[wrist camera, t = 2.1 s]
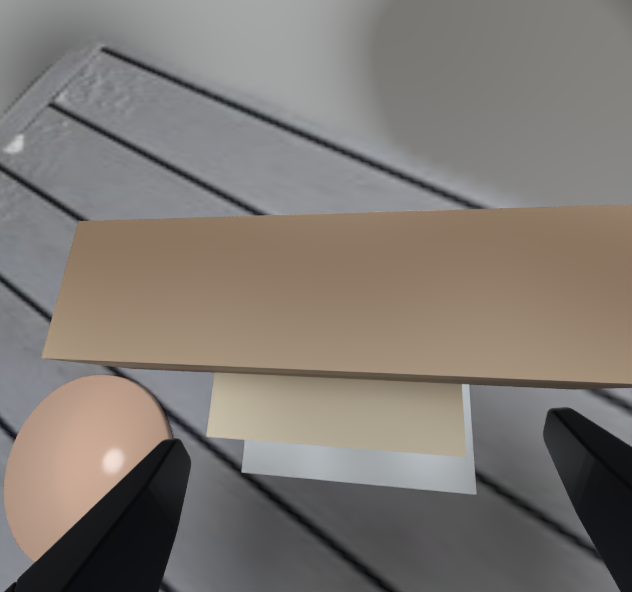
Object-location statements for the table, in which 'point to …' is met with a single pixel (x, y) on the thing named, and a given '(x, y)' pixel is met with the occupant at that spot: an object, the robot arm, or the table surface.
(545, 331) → the wooden block tower
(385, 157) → the table surface
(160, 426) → the peach flat disc
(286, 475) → the socket
